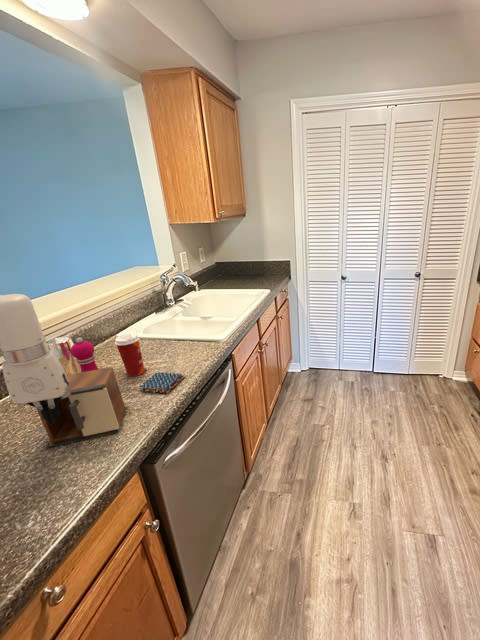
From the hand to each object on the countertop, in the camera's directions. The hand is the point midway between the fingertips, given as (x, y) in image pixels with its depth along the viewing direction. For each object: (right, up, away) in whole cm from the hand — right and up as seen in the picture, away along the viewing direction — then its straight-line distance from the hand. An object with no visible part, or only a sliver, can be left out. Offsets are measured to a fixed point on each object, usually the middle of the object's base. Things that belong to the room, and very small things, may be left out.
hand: (54, 420), depth 77 cm
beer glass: (-22, +5, +38) cm, 44 cm away
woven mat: (+13, +4, +31) cm, 34 cm away
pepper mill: (-7, +1, +27) cm, 28 cm away
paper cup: (0, +7, +40) cm, 40 cm away
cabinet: (+1, -5, +13) cm, 14 cm away
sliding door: (+7, -6, +7) cm, 11 cm away
